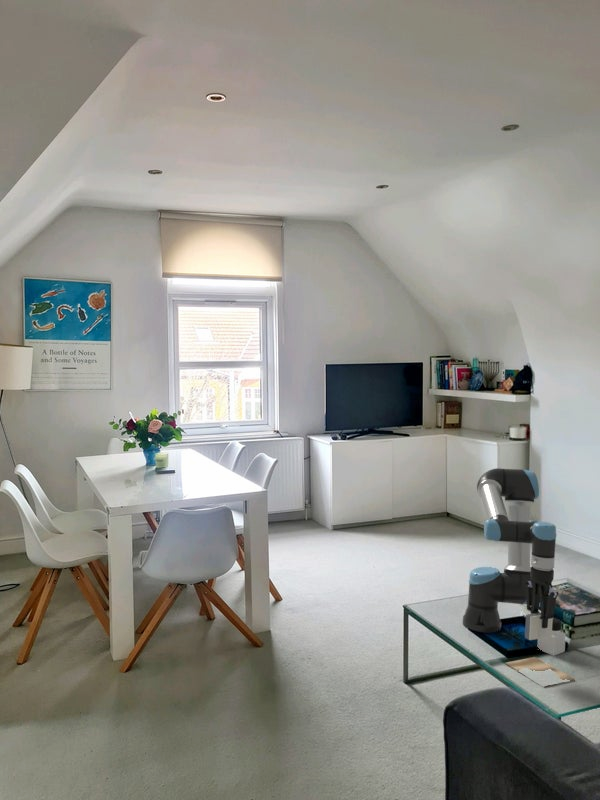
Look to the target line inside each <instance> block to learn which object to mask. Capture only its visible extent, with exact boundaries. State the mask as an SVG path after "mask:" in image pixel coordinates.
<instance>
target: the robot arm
mask: <svg viewBox="0 0 600 800" xmlns="http://www.w3.org/2000/svg"><path fill="white" fill-rule="evenodd" d="M476 489H477V490H476V491H477V494H478V496H479V497H480V498H481V500H482V504H483V507H484V512H485V515H486V520H485V521H484V525H483V534H484V538H485V540H487V541H494V542H506V543H507V545H508V546H507V565H506V566H505V567H504V568H503V572H500V570H499V569H498V568H496V567H492V566H481V567H476V568H474V569H472V570H471V571H470V573H469V579H468V584H469V585H468V597H467V598H468V599H467V606H466V609H465V613H464V615H463V617H462V625H463V626H464V627H465V628H467V629H469V630H472V631H474V632H478V633H489V634H491V633H497V632H499V631H501V629H502V621H501V617H500V614H499V611H498V610H499V609H498V604H499V603H505V604H512V605H513V604H514V605H521V606H524V605H526V610H527V611H529V612H530V614H534V613H541V617H540V618H539V632H538V637H545V636H546V628H547V627H548V619H551V618H554V615H555V609H556V604H557V603H556V601H557V598H558V596H559V591H555V590H554V588H553V584H552V582H553V581H554V575H555V571H554V569H555V560H556V559H555V554H556V540H557V539H556V538H557V526H556V525H555V524H554V523H552V522H551V523H550V522H546V521H538V520H531V506H533V505H534V504H535V500H537V499H539V495H540V485H539V481H538V477H537V475H536V473H535V471H532V470H529V469H528V470H527V469H514V468H500V467H499V468H497V467H496V468H492V469H490V470H488V471H486V472H484V473H483V474H482V475H481V476H480V477H479V479H478V481H477V483H476ZM503 497H504V500H503ZM505 504H506V505H508V512H507V510H506V507H505ZM539 609H540V611H539ZM498 630H499V631H498ZM496 631H497V632H496Z"/></svg>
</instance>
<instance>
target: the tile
mask: <svg viewBox="0 0 600 800" xmlns="http://www.w3.org/2000/svg"><path fill="white" fill-rule="evenodd" d="M540 617H541V612H540V613H534V614H531V613H530V614H529V613H528V614H525V628H524V629H525V630H524V638H525V639H526V640H529V641H533V640H538V639H540V638H546V637H552V622H553V618H554V617H553V618H551V619H548V627H547V628H546V636H545V637H538V632H539V618H540Z"/></svg>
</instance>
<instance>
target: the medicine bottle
mask: <svg viewBox="0 0 600 800" xmlns="http://www.w3.org/2000/svg"><path fill="white" fill-rule="evenodd" d="M561 630H562V621H561V620H560V619H558V618H556V617H553V622H552V637H546V638H540V639H537V643H536V645H537V646H536V648H537V647H538V648H539V649H540V651H541V650H542V651H541V652H544V653H546V654H547V655H551V656H553V657H554V656H557V655H560V654H562V653H563V654H564V652H565V650H566V638H567V637H566V635H567V634H566V632H562V631H561ZM539 649H538V650H539Z"/></svg>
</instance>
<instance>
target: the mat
mask: <svg viewBox="0 0 600 800" xmlns="http://www.w3.org/2000/svg"><path fill="white" fill-rule="evenodd" d="M504 665H505V666H507V667H510V668H511V669H512V670H514V671H515V670H517V671H519V670H520V669H522V668H528V669H530V670H532V671H533V670H535V671H545V670H548V669H551V670H552V671H554V672H556V674H557V675H558V676H559V677H560V679H562V680H565V679H567V680H570V681H571V682H574V681H575V680H576V678H573V677H572V676H569V675H568V674H567V673H564V672H563V671H561V670H559V669H557V668H555V667H553V666H552V665H550V664H549V663H546V662H544V661H543V660H541V659H539V657H536V656H533V657H527V658H523V659H522V658H521V659H518V660H513V661H508V662H505V663H504ZM517 671H516V672H517Z"/></svg>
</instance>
